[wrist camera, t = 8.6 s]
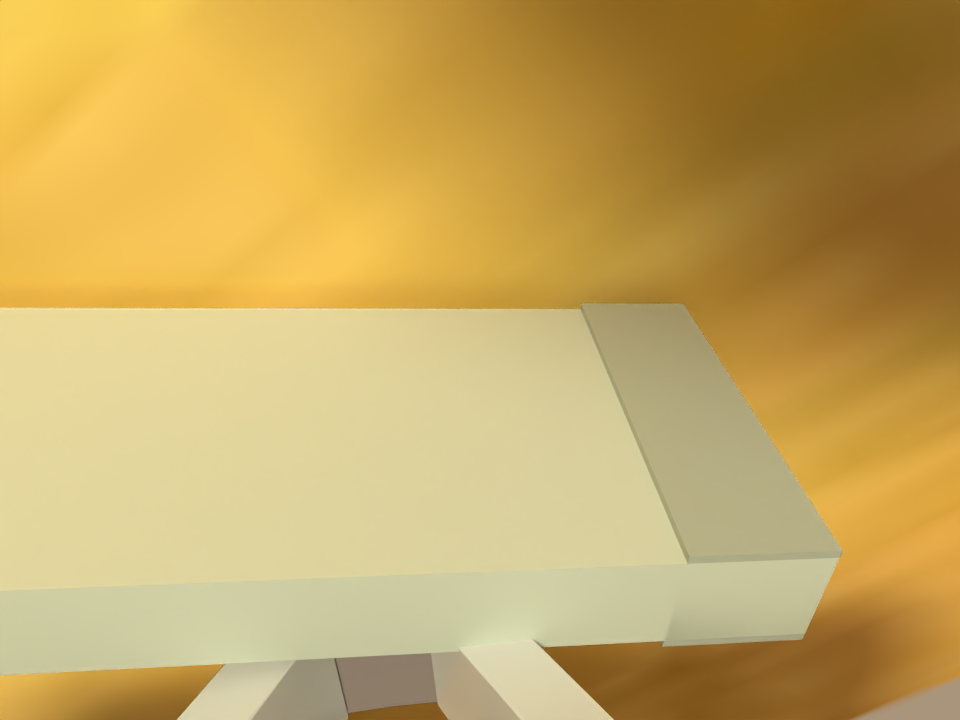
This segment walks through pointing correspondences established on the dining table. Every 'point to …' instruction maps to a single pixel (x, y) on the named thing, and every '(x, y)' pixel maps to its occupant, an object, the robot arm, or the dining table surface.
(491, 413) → the bar
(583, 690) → the robot arm
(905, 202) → the dining table surface
